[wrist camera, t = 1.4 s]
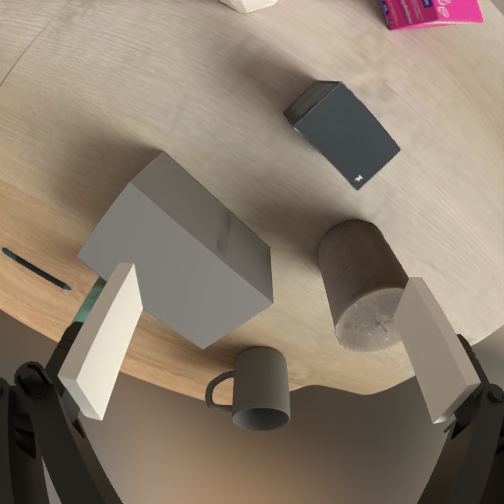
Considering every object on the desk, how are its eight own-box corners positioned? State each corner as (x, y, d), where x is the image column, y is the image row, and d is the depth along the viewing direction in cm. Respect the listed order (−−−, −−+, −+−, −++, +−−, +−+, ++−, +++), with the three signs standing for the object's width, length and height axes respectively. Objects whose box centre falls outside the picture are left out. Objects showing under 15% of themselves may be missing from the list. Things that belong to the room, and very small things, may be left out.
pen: (72, 289, 46) (69, 294, 45) (4, 250, 42) (1, 253, 41) (73, 285, 45) (70, 290, 44) (5, 245, 41) (1, 249, 40)
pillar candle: (382, 212, 37) (432, 284, 24) (386, 271, 42) (423, 349, 29) (310, 229, 39) (331, 310, 26) (322, 287, 44) (341, 372, 31)
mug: (289, 345, 50) (294, 406, 40) (284, 376, 55) (287, 431, 45) (207, 343, 50) (199, 403, 40) (211, 374, 55) (205, 429, 45)
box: (364, 128, 32) (403, 151, 23) (329, 160, 34) (356, 194, 25) (317, 78, 29) (342, 79, 20) (281, 112, 31) (291, 128, 22)
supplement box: (370, -13, 22) (416, -40, 12) (413, -14, 21) (467, -34, 11) (386, 31, 25) (439, 20, 15) (428, 28, 24) (487, 22, 14)
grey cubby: (113, 211, 38) (76, 256, 28) (163, 150, 33) (129, 181, 24) (212, 292, 44) (202, 349, 35) (269, 247, 40) (273, 303, 31)
